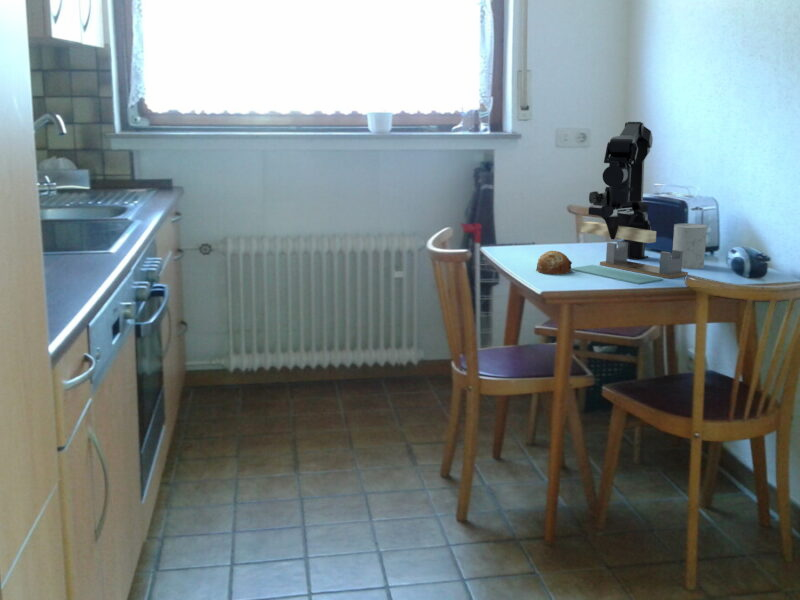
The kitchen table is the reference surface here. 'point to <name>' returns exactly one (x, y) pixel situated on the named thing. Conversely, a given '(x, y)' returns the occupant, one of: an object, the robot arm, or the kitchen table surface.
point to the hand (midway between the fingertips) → (616, 238)
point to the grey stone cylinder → (690, 244)
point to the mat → (616, 274)
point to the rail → (619, 232)
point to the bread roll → (553, 263)
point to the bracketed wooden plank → (667, 269)
